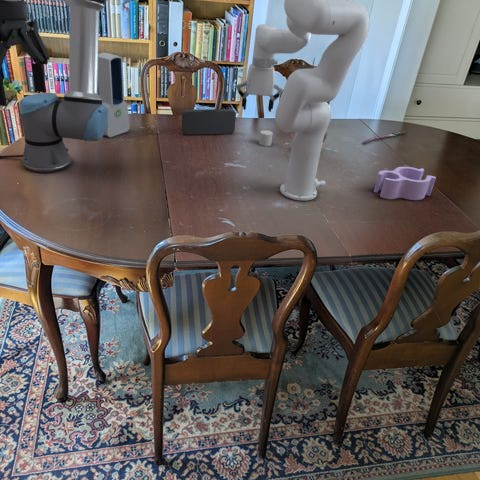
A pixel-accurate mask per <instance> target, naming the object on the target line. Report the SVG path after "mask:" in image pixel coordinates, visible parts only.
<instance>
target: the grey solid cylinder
mask: <svg viewBox="0 0 480 480" xmlns="http://www.w3.org/2000/svg"><path fill="white" fill-rule="evenodd" d="M273 136H274V135H273V131H271V130H268V129H267V130H266V129H265V130H264V129H263V130H261V131H260V132H259V141H258V145H260V146H264V147H269V146H272V143H273V142H272V141H273Z"/></svg>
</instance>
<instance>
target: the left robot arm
mask: <svg viewBox="0 0 480 480" xmlns="http://www.w3.org/2000/svg"><path fill="white" fill-rule="evenodd" d="M105 1H106V2H108V0H64V2H65V4H66V5H67V6H68V8H69V21H68V23H69V26H68V27H69V30H68V31H69V32H68V33H69V36H68V37H69V39H68V40H69V41H68V43H69V44H68V45H69V46H68V50H69V52H68V54H69V55H68V90H67V92H66V93H64V94H63V100H60V99H59V97H58V94H56V93H53V92H47V85H46V72H45V71H46V69H45V65H46V66H47V65H49V64H48V63H49V60H50V58H51V57H50V54H49V52H48V50H47V48H46V46H45V44H44V41H43V39H42V37H41V35H40V33H39V31H38V25H37V22H36V20H34V19H33V20H32V19H28V18H29V15H28V14H29V13H28V7H27V1H25V0H0V71H1V70H2V67H3V64H4V61H5V58H6V56H7V53H8V51H9V50H10V49H11V48H12V47H15V46H16V45H20V47H22V49H23V50H24V51H25V53H26V54H27V55H28V56H29V57H30V59H31V60H32V61H33V63H31V69H32V70H31V71H32V77H33V84H34V85H33V86H34V91H35V92H39V93H33V94H30V95H26V96H24V97H22V98H21V99H20V100H19V103H18V104H19V115H20V120H21V126H22V132H23V137H24V148H23V153H22V154H12V155H11V154H10V155H0V159H7V158H21V159H22V160H21V161H22V166H23V168H24V169H25V170H27V171H29V172H33V173H39V174H46V173H56V172H61V171H63V170H66V169H67V168H69V167H70V166H71V163H72V159H71V155H70V153H69V148H68V147H66V145H65V143H64V140H63V139H72V140H80V141H85V142H89V141H91V142H97V141H100V140H101V139H102V138H103V137H104V133H105V130H106V127H107V122H108V109H107V107H106V106H104V105H102V98H101V97H100V96H99V92H98V54H99V38H100V37H99V35H100V33H99V32H100V12H102V10H104V8H105V3H106V2H105ZM0 106H1V107H7V106H8V102H7V96H6V91H5V85H4V79H3V75H0Z"/></svg>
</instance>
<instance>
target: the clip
mask: <svg viewBox="0 0 480 480" xmlns="http://www.w3.org/2000/svg"><path fill="white" fill-rule="evenodd" d="M424 172H425V169H424V168H423V167H421V168H416V167H411V166H398V167H396V168H394V169H393V170H385V169H384V170H380V171H378V175H377V179H376V182H375V186H374V190H373V192H374V193H379V191H380V194H379V198H383V199H386V200H396V199H405V200H409V201H420V200H423V199H424V198H425V197H426V196H427V197H430V196H431V194H432V191H433V188H434V185H435V182H436V179H437V177H436V176H434V175H429V174H428V175H426V176H425V179H422V178H423V175H424Z"/></svg>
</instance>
